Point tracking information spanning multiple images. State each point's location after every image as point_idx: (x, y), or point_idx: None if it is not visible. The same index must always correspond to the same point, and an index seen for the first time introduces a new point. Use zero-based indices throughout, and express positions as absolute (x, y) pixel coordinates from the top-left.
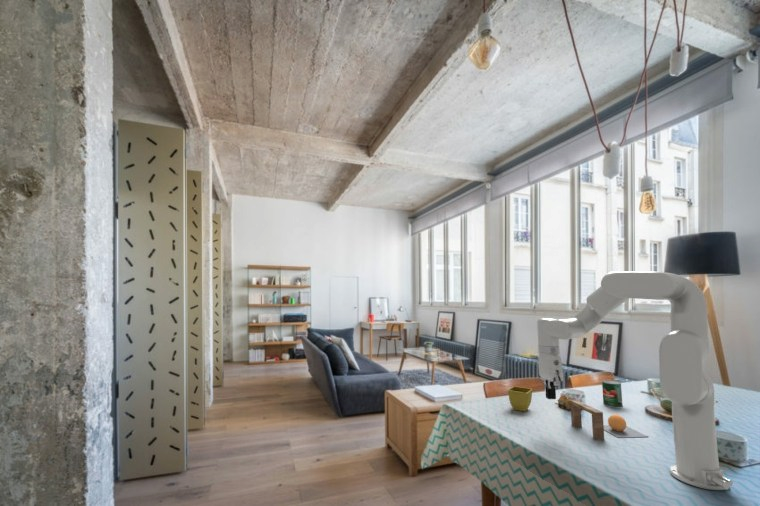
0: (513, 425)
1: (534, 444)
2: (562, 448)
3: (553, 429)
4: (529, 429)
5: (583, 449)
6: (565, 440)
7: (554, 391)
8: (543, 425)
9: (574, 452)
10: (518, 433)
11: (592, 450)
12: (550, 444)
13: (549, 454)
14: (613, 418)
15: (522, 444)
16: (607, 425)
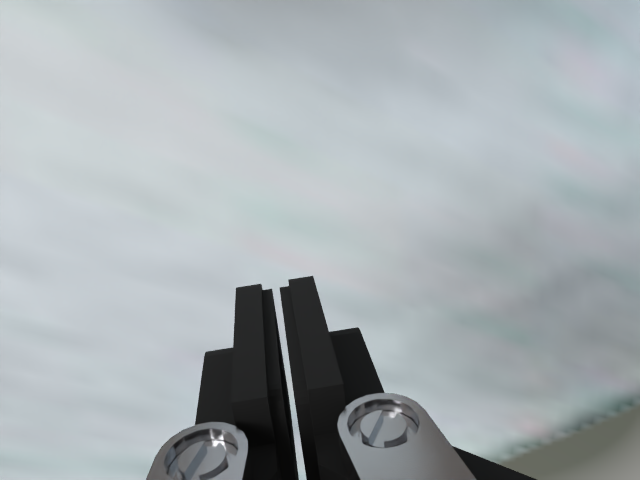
0: (129, 433)
1: (480, 386)
2: (554, 236)
3: (174, 146)
4: (204, 344)
5: (587, 90)
6: (421, 150)
7: (381, 386)
8: (77, 198)
9: (621, 183)
10: (296, 434)
11: (612, 25)
12: (486, 290)
13: (622, 347)
14: None
15: (476, 449)
16: None
